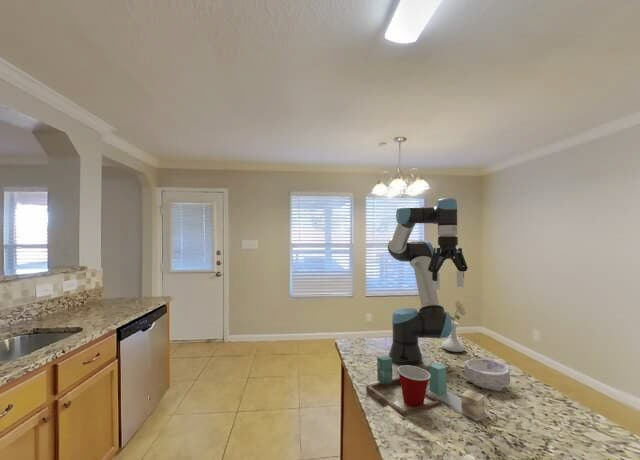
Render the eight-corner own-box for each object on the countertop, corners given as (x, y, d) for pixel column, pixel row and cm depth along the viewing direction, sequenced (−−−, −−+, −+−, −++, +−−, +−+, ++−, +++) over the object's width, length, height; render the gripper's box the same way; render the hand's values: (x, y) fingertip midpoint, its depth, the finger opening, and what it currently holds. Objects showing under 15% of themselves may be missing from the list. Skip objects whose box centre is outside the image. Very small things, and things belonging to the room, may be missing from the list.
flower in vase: (454, 355, 146) (453, 304, 147) (436, 347, 156) (435, 299, 158) (473, 351, 151) (472, 301, 152) (455, 344, 162) (454, 298, 163)
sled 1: (364, 389, 112) (363, 359, 112) (398, 380, 119) (397, 352, 119) (403, 420, 92) (403, 383, 93) (442, 407, 99) (441, 373, 100)
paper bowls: (457, 384, 116) (457, 363, 116) (476, 374, 125) (475, 355, 126) (500, 401, 104) (499, 377, 104) (517, 388, 113) (516, 366, 113)
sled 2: (426, 394, 108) (426, 365, 108) (440, 390, 111) (440, 362, 111) (477, 424, 90) (476, 390, 90) (492, 418, 93) (491, 385, 93)
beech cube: (461, 410, 95) (461, 394, 95) (468, 405, 98) (468, 389, 99) (478, 417, 91) (477, 401, 92) (484, 411, 95) (484, 395, 95)
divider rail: (422, 395, 108) (422, 390, 108) (423, 394, 108) (423, 390, 108) (477, 429, 88) (477, 423, 88) (479, 428, 89) (479, 423, 89)
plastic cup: (436, 417, 94) (435, 378, 95) (401, 416, 95) (401, 377, 95) (425, 399, 105) (425, 364, 106) (394, 398, 106) (394, 363, 106)
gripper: (432, 235, 114) (433, 291, 113) (476, 236, 125) (477, 287, 124) (418, 236, 121) (418, 288, 120) (460, 236, 131) (461, 284, 130)
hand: (448, 288), depth 122 cm, fingers open, 13 cm apart
